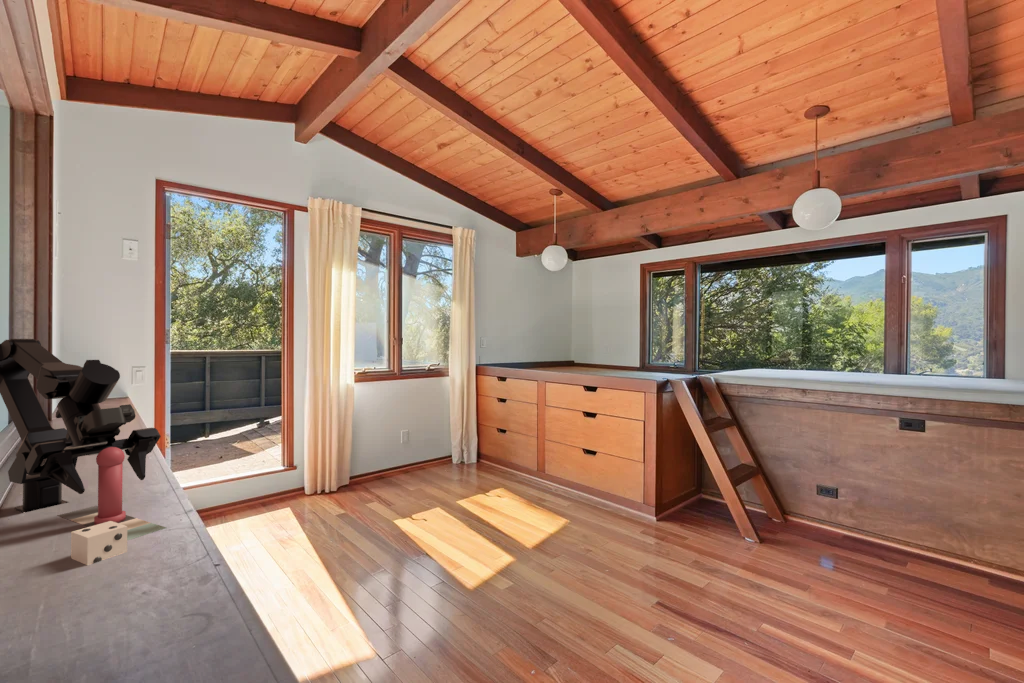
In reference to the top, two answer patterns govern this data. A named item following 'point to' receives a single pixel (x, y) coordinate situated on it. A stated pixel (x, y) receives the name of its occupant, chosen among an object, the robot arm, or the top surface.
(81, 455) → the robot arm
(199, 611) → the top surface
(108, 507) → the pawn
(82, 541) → the die
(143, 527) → the board
